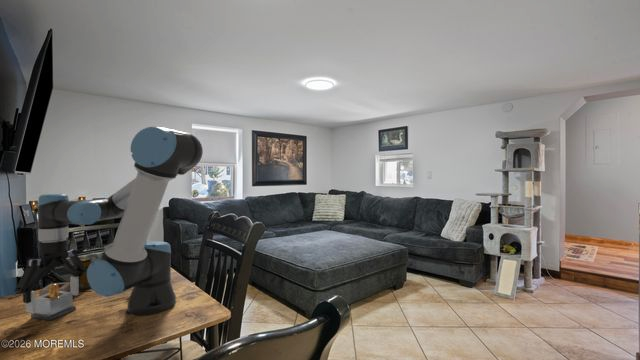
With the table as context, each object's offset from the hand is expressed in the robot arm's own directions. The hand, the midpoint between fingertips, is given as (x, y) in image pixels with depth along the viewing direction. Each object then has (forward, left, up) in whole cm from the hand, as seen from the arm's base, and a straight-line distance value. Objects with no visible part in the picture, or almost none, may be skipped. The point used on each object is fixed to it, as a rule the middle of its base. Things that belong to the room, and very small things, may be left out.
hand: (53, 302), depth 100 cm
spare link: (+11, -9, -4) cm, 15 cm away
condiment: (+11, -20, -4) cm, 23 cm away
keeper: (0, 0, -4) cm, 4 cm away
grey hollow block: (0, 0, -2) cm, 3 cm away
